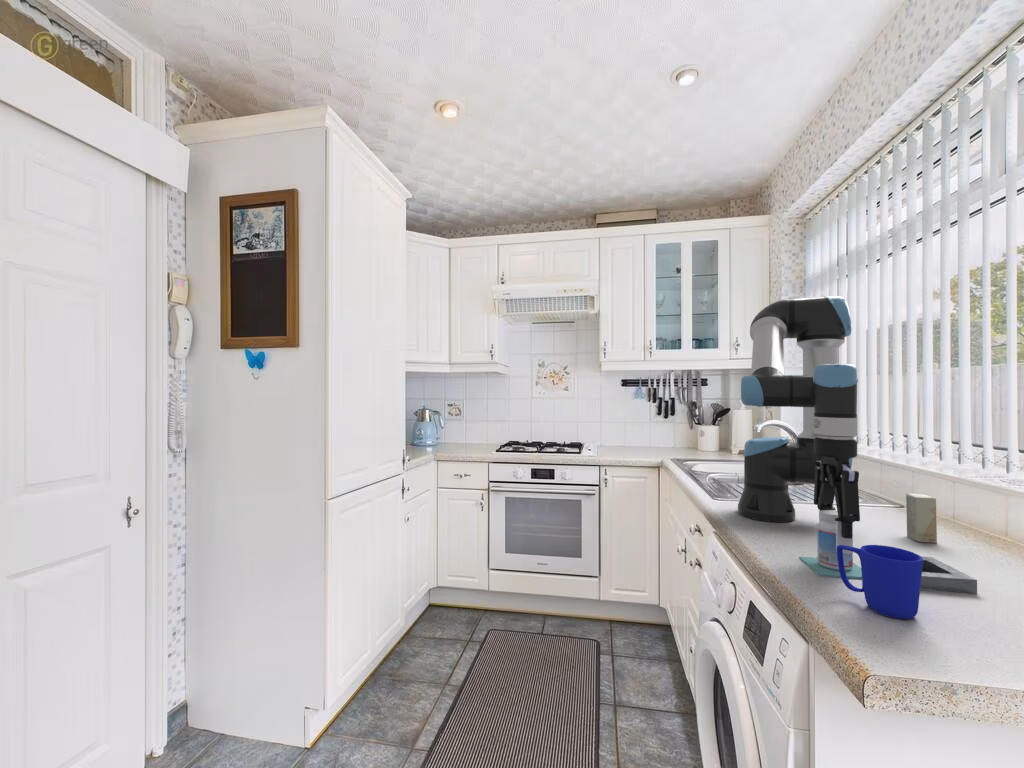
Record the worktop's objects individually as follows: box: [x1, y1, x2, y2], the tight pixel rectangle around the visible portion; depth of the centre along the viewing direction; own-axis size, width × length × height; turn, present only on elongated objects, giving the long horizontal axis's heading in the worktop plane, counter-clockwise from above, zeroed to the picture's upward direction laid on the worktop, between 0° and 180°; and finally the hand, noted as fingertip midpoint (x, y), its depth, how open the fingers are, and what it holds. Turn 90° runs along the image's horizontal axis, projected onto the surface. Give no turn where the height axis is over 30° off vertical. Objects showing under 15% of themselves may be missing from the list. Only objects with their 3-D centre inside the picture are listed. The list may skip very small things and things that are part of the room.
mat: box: [798, 556, 862, 580], centre depth 97 cm, size 10×10×1 cm
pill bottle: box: [816, 510, 854, 570], centre depth 98 cm, size 6×6×11 cm
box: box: [905, 492, 938, 544], centre depth 117 cm, size 5×4×11 cm
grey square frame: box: [920, 555, 978, 595], centre depth 93 cm, size 12×12×2 cm
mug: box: [837, 544, 923, 620], centre depth 80 cm, size 8×12×10 cm
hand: (835, 546), depth 97 cm, fingers open, 7 cm apart
